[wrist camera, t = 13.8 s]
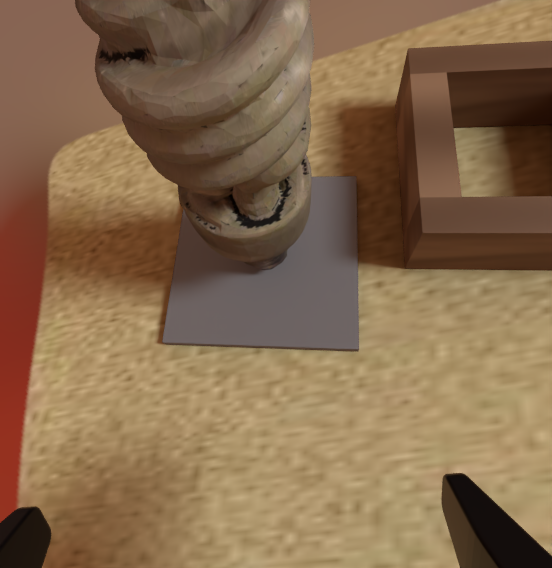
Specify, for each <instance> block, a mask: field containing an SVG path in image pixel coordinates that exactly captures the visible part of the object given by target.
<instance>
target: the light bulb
mask: <svg viewBox="0 0 552 568" xmlns="http://www.w3.org/2000/svg"><path fill="white" fill-rule="evenodd" d="M75 4H76V8H77V11H78V13H79V15H80V16H81V17H82V19H83V21H84V22H85V23H86V24H87V25H88V26H89V27H90V28H91V29H92V30H93V31H94V32H95V33H97V34H98V35H99V37H100V41H99V45H98V49H97V54H96V59H95V72H96V77H97V81H98V84H99V86H100V88H101V90H102V92H103V94H104V96H105V97H106V98H107V100H108V101H109V103H110V104H111V105H112V107H113V108H114V109H115V110H117V112H119V113H120V114H121V115H122V120H123V123H124V125H125V127H126V130H127V132H128V134H129V136H130V137H131V138H132V139H133V141H134V142H135V143H136V144H137V145H138V146H139V147H140V148H141V149H142V150H143V151H145V152H146V153H147V157H148V159H149V160H150V162H151V164H152V165H153V167H154V168H155V169H156V170H157V171H158V172H159V173H160V174H161V175H162V176H164V177H165V178H166V179H168V180H170V181H172V182H174V183H175V184H177V185H178V193H179V200H180V204H181V206H182V207H183V209H184V211H185V214H186V216H187V217H188V219H189V221H190V222H191V224H192V226H193V227H194V228H195V230H196V231H197V233H198V234H199V235H200V237H201V238H202V239H203V240H204V241H205V242H206V243H207V245H208V246H209V247H210V248H212V249H213V250H214V251H216V252H217V253H219V254H220V255H222V256H223V257H226V258H229V259H232V260H236V261H241V262H244V263H246V264H248V265H251V266H253V267H255V268H258V269H260V270H270V269H273V268H275V267H276V266H277V265H279V264H280V263H282V262H283V260H284V259H285V258H286V257H287V250H288V249H289V248H290V247H291V246H292V245H293V244H294V243H295V242H296V241H297V240H298V238H299V237H300V235H301V234H302V232H303V230H304V228H305V225H306V223H307V221H308V217H309V213H310V204H311V186H312V185H311V181H312V178H311V167H310V163H309V161H308V158H307V156H306V152H307V150H308V144H309V137H310V130H311V118H310V109H309V102H310V95H311V79H310V70H311V66H312V58H313V52H314V38H313V27H312V21H311V15H310V13H309V7H310V0H75Z"/></svg>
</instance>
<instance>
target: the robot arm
mask: <svg viewBox="0 0 552 568" xmlns="http://www.w3.org/2000/svg"><path fill="white" fill-rule="evenodd" d="M442 508H443V512H444V516H445V519H446V522H447V526H448V529H449V532H450V536H451V539H452V542H453V546H454V549H455V552H456V556H457V559H458V562H459V565H460V568H552V556H551V555H550V554H549V553H548V552H547V551H546V550H545V549H544V548H543V547H542V546H541V545H540V544H539V543H538V542H536V541H535V540H534V539H533V538H532V537H531V536H530V535H529V534H528V533H527V532H526V531H525V530H524V529H523V528H522V527H521V526H520V525H518V524H517V523H516V522H515V521H514V520H513V519H512V518H511V517H510V516H509V515H508V514H507V513H506V512H505V511H504V510H503V509H501V508H500V507H499V506H498V505H497V504H496V503H495V502H494V501H493V500H492V499H491V498H490V497H489V496H488V495H487V494H486V493H485V492H483V491H482V490H481V489H480V488H479V487H478V486H477V485H476V484H475V483H474V482H473V481H472V480H471V479H470V478H469V477H468V476H466V475H465V474H463V473H453V474H445V475H444V476H443V482H442ZM50 540H51V529H50V527H49V525H48V523H47V521H46V519H45V518H44V516H43V514H42V512H41V510H40V509H39V508H38V507H22V508H19V509H17V510H15V511H14V512H12V513H11V514H10V515H9V516H8V517H7V518H5V519H4V520H3V521H2V522H1V523H0V568H42V565H43V562H44V559H45V556H46V553H47V550H48V547H49V544H50Z"/></svg>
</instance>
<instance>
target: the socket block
mask: <svg viewBox="0 0 552 568" xmlns="http://www.w3.org/2000/svg"><path fill="white" fill-rule="evenodd" d="M395 110H396V127H397V143H398V160H399V177H400V194H401V211H402V227H403V244H404V261H405V269H498V270H552V196H519V197H462V196H461V187H460V179H459V171H458V163H457V154H456V146H455V138H454V130H453V128H456V127H488V126H521V125H552V41H539V42H520V43H502V44H483V45H465V46H447V47H428V48H410V49H408V51H407V56H406V60H405V65H404V69H403V74H402V78H401V83H400V87H399V92H398V96H397V101H396V105H395Z"/></svg>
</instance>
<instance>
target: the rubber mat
mask: <svg viewBox="0 0 552 568" xmlns="http://www.w3.org/2000/svg"><path fill="white" fill-rule="evenodd" d="M311 178H312V181H311V185H312V186H311V204H310V213H309V217H308V221H307V223H306V225H305V228H304V230H303V232H302V234H301V235H300V237H299V238H298V240H297V241H296V242H295V243H294V244H293V245H292V246H291V247H290V248H289V249H288V250H287V257H286V258H285V259H284V260H283V262H282V263H280V264H279V265H277V266H276V267H275V268H273V269H270V270H260V269H258V268H255V267H253V266H251V265H248V264H246V263H244V262H241V261H236V260H232V259H229V258H226V257H223V256H222V255H220V254H219V253H217V252H216V251H214V250H213V249H212V248H210V247H209V246H208V245H207V243H206V242H205V241H204V240H203V239H202V238H201V237H200V235H199V234H198V233H197V231H196V230H195V228H194V227H193V226H192V224H191V222H190V221H189V219H188V217H187V216H186V214H185V211H184V209H183V215H182V221H181V227H180V233H179V240H178V246H177V252H176V259H175V265H174V271H173V278H172V284H171V290H170V297H169V303H168V309H167V315H166V322H165V328H164V334H163V341H162V343H164V344H169V345H197V346H225V347H253V348H281V349H309V350H336V351H358V350H359V316H358V250H357V183H356V176H337V177H311Z"/></svg>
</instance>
